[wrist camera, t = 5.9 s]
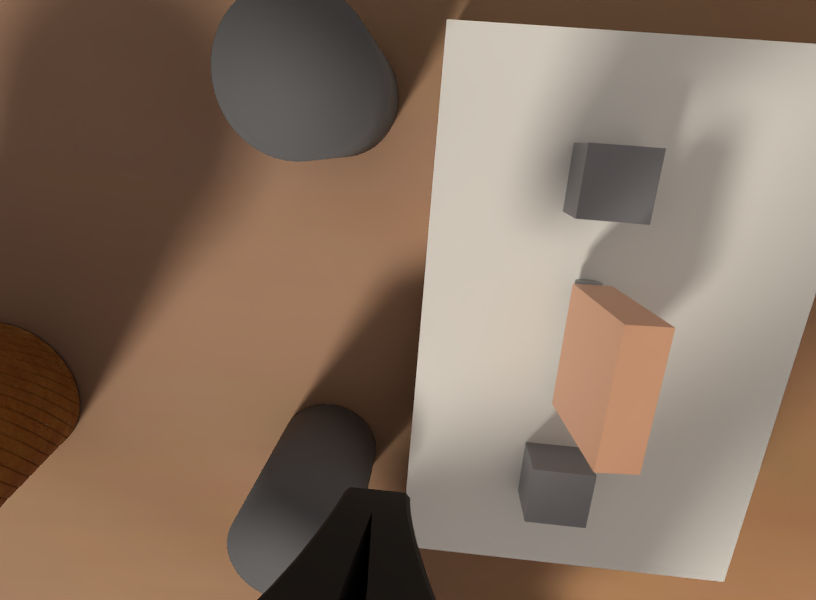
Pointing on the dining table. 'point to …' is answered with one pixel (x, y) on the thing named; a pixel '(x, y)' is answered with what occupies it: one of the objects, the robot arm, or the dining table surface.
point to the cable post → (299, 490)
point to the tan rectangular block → (610, 375)
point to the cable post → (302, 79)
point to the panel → (609, 284)
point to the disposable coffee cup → (31, 405)
